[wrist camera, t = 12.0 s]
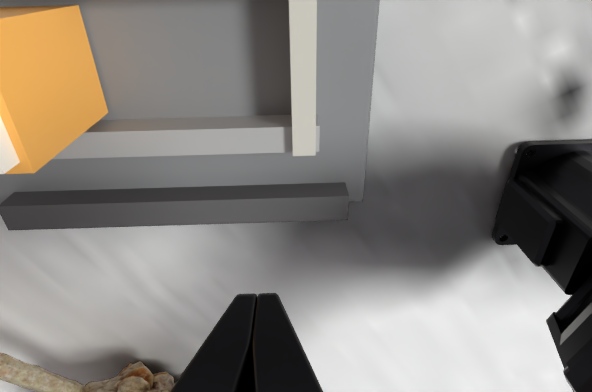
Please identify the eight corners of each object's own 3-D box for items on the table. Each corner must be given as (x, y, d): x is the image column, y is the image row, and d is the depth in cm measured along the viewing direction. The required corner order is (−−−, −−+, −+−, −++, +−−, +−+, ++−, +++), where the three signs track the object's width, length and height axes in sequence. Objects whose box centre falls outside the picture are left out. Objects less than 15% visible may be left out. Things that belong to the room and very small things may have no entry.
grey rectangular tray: (386, -170, 14) (411, -204, 11) (359, 190, 21) (370, 222, 19) (-148, -161, 14) (-258, -194, 11) (17, 200, 21) (-22, 234, 18)
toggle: (78, 4, 15) (-51, 27, 9) (108, 112, 17) (19, 185, 12) (2, 6, 15) (-176, 30, 9) (42, 114, 17) (-81, 188, 12)
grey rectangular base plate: (365, -189, 13) (373, -206, 11) (343, 205, 21) (347, 219, 19) (-156, -181, 12) (-203, -196, 11) (24, 214, 20) (8, 230, 19)
